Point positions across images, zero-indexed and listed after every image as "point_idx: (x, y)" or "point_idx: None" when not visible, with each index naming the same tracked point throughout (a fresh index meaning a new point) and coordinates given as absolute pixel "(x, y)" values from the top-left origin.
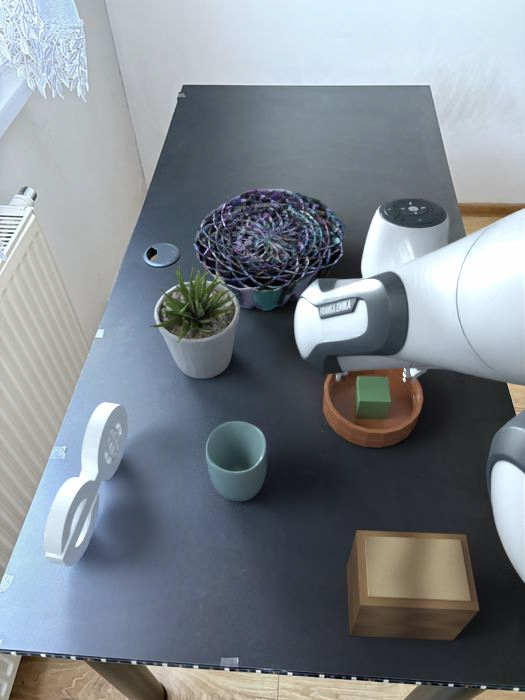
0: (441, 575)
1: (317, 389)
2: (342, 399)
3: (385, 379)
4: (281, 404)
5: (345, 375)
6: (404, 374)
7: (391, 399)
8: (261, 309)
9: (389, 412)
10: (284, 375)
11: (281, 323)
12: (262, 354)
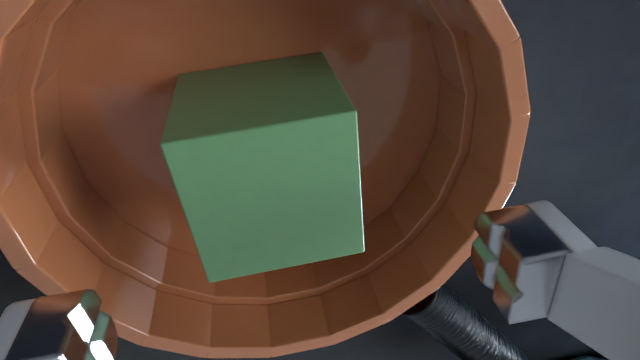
0: None
1: None
2: (381, 135)
3: (220, 268)
4: (612, 66)
5: (539, 257)
6: (91, 356)
7: None
8: (594, 358)
9: None
10: (570, 187)
11: (540, 335)
12: (619, 240)
